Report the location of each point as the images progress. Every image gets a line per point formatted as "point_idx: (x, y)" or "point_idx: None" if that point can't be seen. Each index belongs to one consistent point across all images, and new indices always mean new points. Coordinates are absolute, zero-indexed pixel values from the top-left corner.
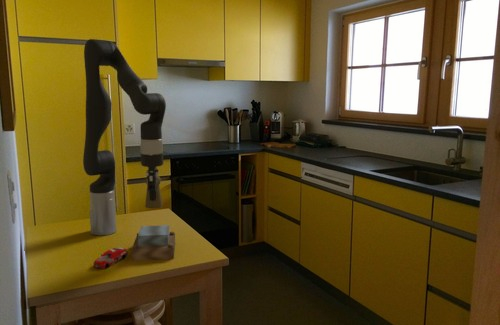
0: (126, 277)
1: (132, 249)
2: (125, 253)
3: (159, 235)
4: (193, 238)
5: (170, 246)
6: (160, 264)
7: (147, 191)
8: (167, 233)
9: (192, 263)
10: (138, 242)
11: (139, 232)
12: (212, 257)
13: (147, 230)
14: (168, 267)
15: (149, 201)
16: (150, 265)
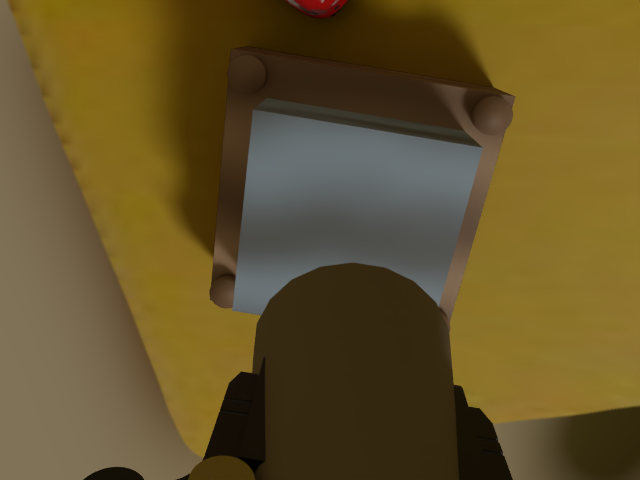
0: (19, 8)
1: (230, 54)
2: (289, 3)
3: (239, 259)
4: (473, 397)
5: (212, 288)
6: (162, 199)
7: (309, 427)
8: (257, 312)
9: (150, 340)
10: (261, 103)
11: (329, 125)
12: (202, 425)
13: (359, 188)
14: (120, 233)
15: (267, 349)
16: (158, 147)
